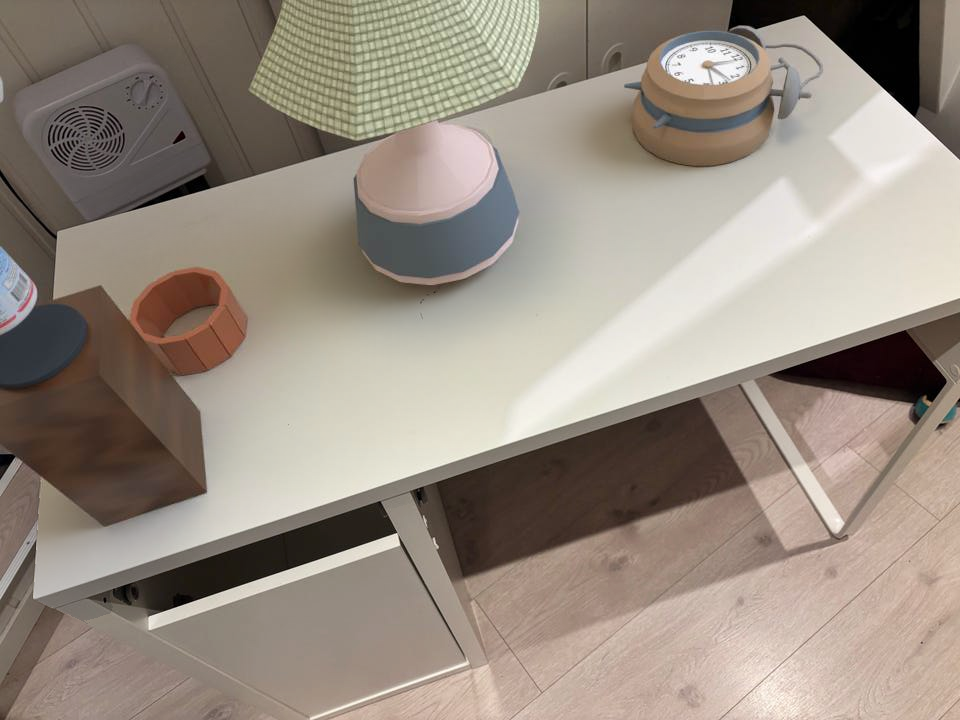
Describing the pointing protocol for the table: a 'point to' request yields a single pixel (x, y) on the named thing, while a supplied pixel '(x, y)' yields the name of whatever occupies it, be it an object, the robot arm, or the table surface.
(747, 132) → the alarm clock
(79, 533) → the table surface
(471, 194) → the desk lamp
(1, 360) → the coaster
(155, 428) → the riser
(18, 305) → the pill bottle
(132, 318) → the desk pot
